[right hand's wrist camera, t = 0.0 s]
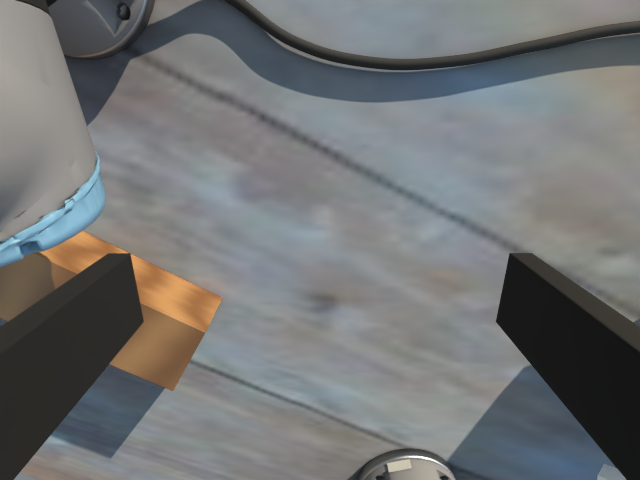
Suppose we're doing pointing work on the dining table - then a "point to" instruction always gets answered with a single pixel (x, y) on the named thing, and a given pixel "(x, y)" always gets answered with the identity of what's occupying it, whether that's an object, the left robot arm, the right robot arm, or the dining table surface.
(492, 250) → the dining table surface
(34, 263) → the wide beam
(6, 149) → the left robot arm
